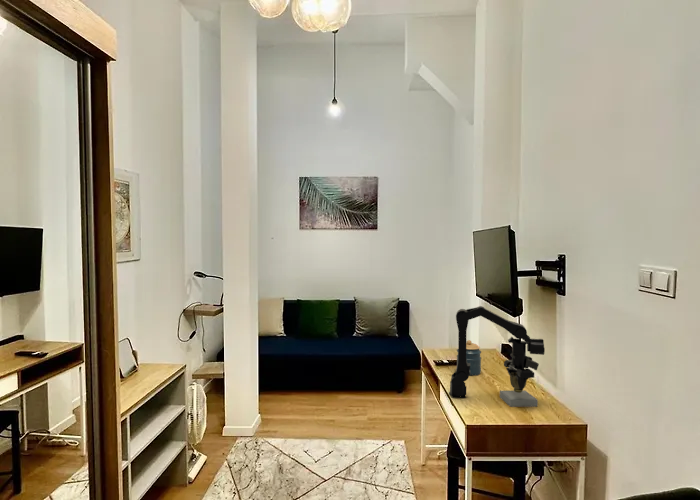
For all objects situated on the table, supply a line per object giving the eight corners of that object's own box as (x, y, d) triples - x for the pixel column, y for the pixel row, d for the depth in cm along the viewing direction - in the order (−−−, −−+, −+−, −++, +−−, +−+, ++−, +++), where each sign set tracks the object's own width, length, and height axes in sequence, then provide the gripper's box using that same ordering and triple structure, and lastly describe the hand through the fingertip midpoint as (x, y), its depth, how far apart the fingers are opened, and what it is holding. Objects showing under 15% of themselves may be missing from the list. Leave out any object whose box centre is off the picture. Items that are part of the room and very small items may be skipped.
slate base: (510, 406, 193) (510, 399, 193) (499, 397, 205) (499, 390, 205) (537, 406, 194) (537, 399, 194) (525, 396, 206) (525, 390, 206)
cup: (505, 390, 202) (506, 372, 202) (518, 388, 204) (519, 371, 204) (517, 395, 195) (517, 377, 195) (530, 393, 197) (531, 375, 197)
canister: (455, 374, 240) (455, 341, 240) (457, 368, 252) (458, 336, 252) (480, 377, 236) (481, 343, 236) (481, 370, 248) (482, 338, 248)
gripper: (546, 358, 190) (545, 394, 191) (527, 348, 209) (526, 381, 209) (521, 358, 190) (520, 394, 190) (503, 347, 208) (503, 381, 209)
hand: (518, 387), depth 199 cm, fingers closed on cup, 6 cm apart
